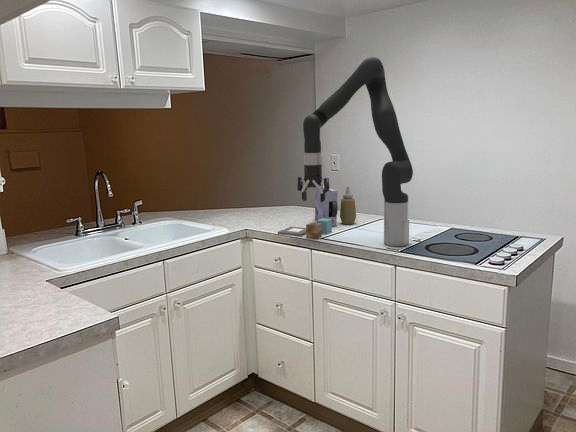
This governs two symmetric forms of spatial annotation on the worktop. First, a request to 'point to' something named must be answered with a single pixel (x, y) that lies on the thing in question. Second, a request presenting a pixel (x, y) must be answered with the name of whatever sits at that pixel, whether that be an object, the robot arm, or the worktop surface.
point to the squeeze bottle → (348, 208)
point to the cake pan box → (326, 206)
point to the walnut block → (314, 230)
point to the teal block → (326, 225)
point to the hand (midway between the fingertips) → (313, 201)
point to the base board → (293, 231)
